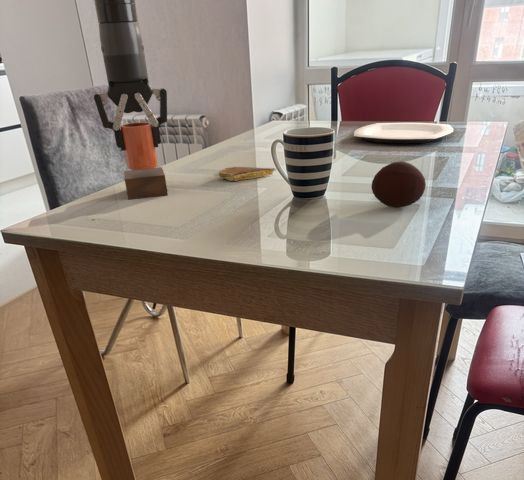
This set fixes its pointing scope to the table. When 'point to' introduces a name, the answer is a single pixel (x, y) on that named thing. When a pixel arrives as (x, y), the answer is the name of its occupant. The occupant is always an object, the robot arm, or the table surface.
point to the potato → (398, 184)
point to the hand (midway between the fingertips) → (139, 148)
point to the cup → (139, 145)
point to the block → (145, 183)
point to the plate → (403, 132)
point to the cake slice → (244, 173)
